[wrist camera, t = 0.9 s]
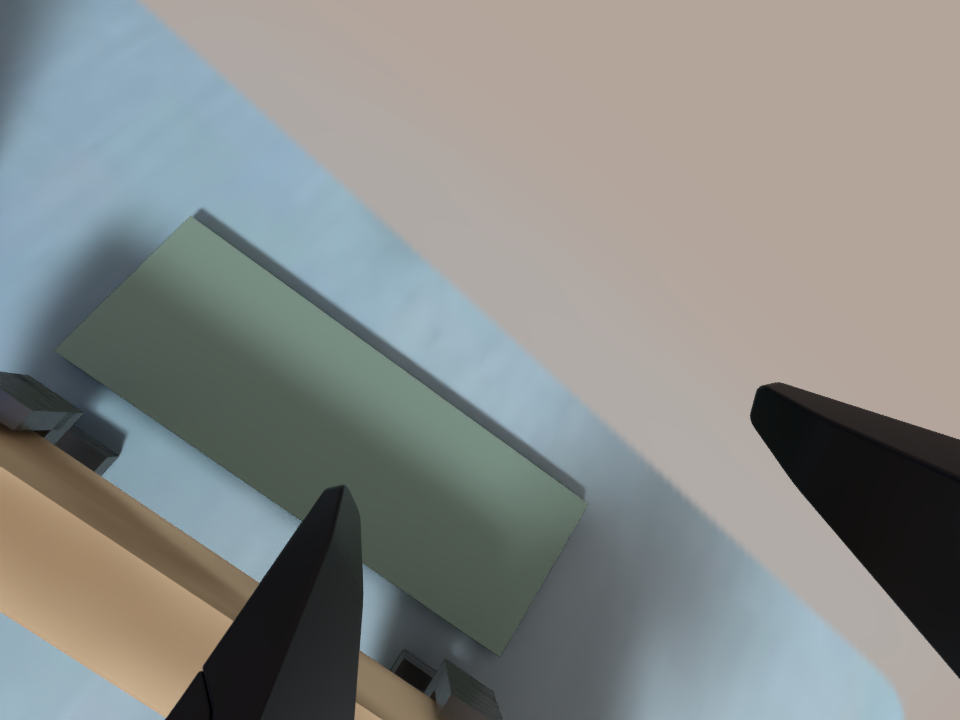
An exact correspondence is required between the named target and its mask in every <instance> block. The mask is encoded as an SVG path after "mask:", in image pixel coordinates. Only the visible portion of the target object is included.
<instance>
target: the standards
mask: <svg viewBox="0 0 960 720" xmlns="http://www.w3.org/2000/svg"><path fill="white" fill-rule="evenodd" d="M83 414H84V413H83V412H82V411H80V410H79V409H77V408H76V407H74V406H73V405H71V404H70V403H68V402H67V401H66V400H64V399H63V398H61V397H60V396H58V395H57V394H55V393H54V392H52V391H51V390H49V389H48V388H46V387H45V386H43V385H42V384H41V383H39V382H38V381H36V380H35V379H33V378H32V377H30V376H28V375H21V374H14V373H7V372H0V422H1V423H2V424H4V425H5V426H7V427H8V428H10V429H11V430H33V431H34V432H36V433H37V434H39V435H40V436H41V437H43V438H44V439H46V440H47V441H49V442H50V443H52V444H53V445H55V446H56V447H58V448H59V449H61V450H62V451H64V452H65V453H67V454H68V455H70V456H71V457H73V458H74V459H76V460H77V461H79V462H80V463H82V464H83V465H85V466H86V467H88V468H89V469H91V470H92V471H94V472H95V473H97V474H98V475H99V476H102V474H103V473H104V472H105V471H106V470H107V469H108V468H109V467H110V466H111V465H112V463H113V462H114V461H115V460H116V459H117V458H118V457H119V456H118V455H116V454H115V453H113V452H112V451H110V450H109V449H107V448H106V447H105V446H103V445H102V444H100V443H99V442H97V441H96V440H94V439H93V438H91V437H90V436H88V435H87V434H85V433H84V432H82V431H81V430H79V429H78V428H76V427H75V426H74V425H73V424H74V423H75V422H76V421H77V420H78V419H79V418H80V417H81V416H82V415H83ZM390 671H391V672H392V673H394V674H395V675H397V676H398V677H400V678H401V679H403V680H404V681H406V682H407V683H409V684H410V685H412V686H413V687H415V688H416V689H418V690H419V691H421V692H422V693H424V694H425V695H427V696H428V697H430V698H431V699H433V700H434V701H435V702H437V710H438V716H439V717H441V718H442V719H444V720H503V719H502V716H501V713H500V711H499V708H498V705H497V702H496V699H495V696H494V693H493V691H491V690H490V689H489V688H487V687H486V686H484V685H483V684H481V683H480V682H478V681H477V680H475V679H474V678H472V677H471V676H469V675H468V674H467V673H465V672H464V671H462V670H461V669H459V668H458V667H456V666H455V665H453V664H452V663H450V662H449V661H447V660H446V659H444V660H443V662H442V664H441V665H440V667H439V669H438V670H437V671H435V670H434V669H432V668H431V667H429V666H428V665H426V664H425V663H423V662H422V661H420V660H419V659H417V658H416V657H414V656H413V655H411V654H410V653H408V652H407V651H406V650H403V651H402V653H401V655H400V656H399V658H398V659H397V661H396V662H395V664H394V666H393V667H392V669H391V670H390Z"/></svg>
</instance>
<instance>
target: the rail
mask: <svg viewBox="0 0 960 720" xmlns="http://www.w3.org/2000/svg"><path fill="white" fill-rule="evenodd" d="M258 585H259V582H257V581H256V580H254V579H253V578H251V577H250V576H248V575H247V574H245V573H244V572H242V571H241V570H239V569H238V568H236V567H235V566H233V565H232V564H230V563H229V562H227V561H226V560H224V559H223V558H221V557H220V556H218V555H217V554H215V553H214V552H212V551H211V550H209V549H208V548H207V547H205V546H204V545H202V544H201V543H199V542H198V541H196V540H195V539H193V538H192V537H190V536H189V535H187V534H186V533H184V532H183V531H181V530H180V529H178V528H177V527H175V526H174V525H172V524H171V523H169V522H168V521H166V520H165V519H163V518H162V517H160V516H159V515H157V514H156V513H154V512H153V511H152V510H150V509H149V508H147V507H146V506H144V505H143V504H141V503H140V502H138V501H137V500H135V499H134V498H132V497H131V496H129V495H128V494H126V493H125V492H123V491H122V490H120V489H119V488H117V487H116V486H114V485H113V484H111V483H110V482H108V481H107V480H105V479H104V478H102V477H101V476H99V475H98V474H97V473H95V472H94V471H92V470H91V469H89V468H88V467H86V466H85V465H83V464H82V463H80V462H79V461H77V460H76V459H74V458H73V457H71V456H70V455H68V454H67V453H65V452H64V451H62V450H61V449H59V448H58V447H56V446H55V445H53V444H52V443H50V442H49V441H47V440H46V439H44V438H43V437H41V436H40V435H39V434H37V433H36V432H34V431H33V430H11V429H10V428H8V427H7V426H5V425H4V424H2V423H1V422H0V612H1V613H3V614H5V615H6V616H8V617H9V618H11V619H12V620H14V621H15V622H17V623H19V624H20V625H22V626H23V627H25V628H26V629H28V630H30V631H31V632H33V633H34V634H36V635H37V636H39V637H40V638H42V639H44V640H45V641H47V642H48V643H50V644H51V645H53V646H54V647H56V648H58V649H59V650H61V651H62V652H64V653H65V654H67V655H69V656H70V657H72V658H73V659H75V660H76V661H78V662H79V663H81V664H83V665H84V666H86V667H87V668H89V669H90V670H92V671H93V672H95V673H97V674H98V675H100V676H101V677H103V678H104V679H106V680H108V681H109V682H111V683H112V684H114V685H115V686H117V687H118V688H120V689H122V690H123V691H125V692H126V693H128V694H129V695H131V696H132V697H134V698H136V699H137V700H139V701H140V702H142V703H143V704H145V705H147V706H148V707H150V708H151V709H153V710H154V711H156V712H157V713H159V714H161V715H162V716H164V717H165V718H166V717H167V716H168V715H169V713H170V712H171V710H172V709H173V708H174V706H175V705H176V703H177V702H178V701H179V699H180V698H181V696H182V695H183V693H184V692H185V691H186V689H187V688H188V686H189V685H190V683H191V682H192V680H193V679H194V677H195V676H196V675H197V673H198V672H199V671H203V669H202V667H203V665H204V663H205V662H206V660H207V659H208V657H209V656H210V655H211V653H212V652H213V650H214V649H215V647H216V646H217V644H218V643H219V642H220V640H221V639H222V637H223V636H224V634H225V633H226V631H227V630H228V628H229V627H230V626H231V624H232V623H233V621H234V620H235V618H236V617H237V615H238V614H239V612H240V611H241V610H242V608H243V607H244V605H245V604H246V602H247V601H248V599H249V598H250V597H251V595H252V594H253V592H254V591H255V589H256V588H257V586H258ZM354 720H444V719H442V718H441V717H439V716H438V710H437V702H435V701H434V700H433V699H431V698H430V697H428V696H427V695H425V694H424V693H422V692H421V691H419V690H418V689H416V688H415V687H413V686H412V685H410V684H409V683H407V682H406V681H404V680H403V679H401V678H400V677H398V676H397V675H395V674H394V673H392V672H391V671H389V670H388V669H386V668H385V667H383V666H382V665H380V664H379V663H378V662H376V661H375V660H373V659H372V658H370V657H369V656H367V655H366V654H364V653H363V652H361V651H360V650H359V664H358V677H357V691H356V705H355V718H354Z"/></svg>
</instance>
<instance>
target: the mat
mask: <svg viewBox="0 0 960 720" xmlns="http://www.w3.org/2000/svg"><path fill="white" fill-rule="evenodd" d="M54 351H55V352H56V353H58V354H59V355H61V356H62V357H64V358H65V359H67V360H68V361H70V362H71V363H72V364H74V365H75V366H77V367H78V368H80V369H81V370H83V371H84V372H86V373H87V374H88V375H90V376H91V377H93V378H94V379H96V380H97V381H99V382H100V383H102V384H103V385H104V386H106V387H107V388H109V389H110V390H112V391H113V392H115V393H116V394H118V395H119V396H120V397H122V398H123V399H125V400H126V401H128V402H129V403H131V404H132V405H134V406H135V407H136V408H138V409H139V410H141V411H142V412H144V413H145V414H147V415H148V416H150V417H151V418H152V419H154V420H155V421H157V422H158V423H160V424H161V425H163V426H164V427H166V428H167V429H168V430H170V431H171V432H173V433H174V434H176V435H177V436H179V437H180V438H182V439H183V440H184V441H186V442H187V443H189V444H190V445H192V446H193V447H195V448H196V449H198V450H199V451H200V452H202V453H203V454H205V455H206V456H208V457H209V458H211V459H212V460H214V461H215V462H216V463H218V464H219V465H221V466H222V467H224V468H225V469H227V470H228V471H230V472H231V473H232V474H234V475H235V476H237V477H238V478H240V479H241V480H243V481H244V482H246V483H247V484H248V485H250V486H251V487H253V488H254V489H256V490H257V491H259V492H260V493H262V494H263V495H264V496H266V497H267V498H269V499H270V500H272V501H273V502H275V503H276V504H278V505H279V506H280V507H282V508H283V509H285V510H286V511H288V512H289V513H291V514H292V515H294V516H295V517H296V518H298V519H299V520H301V521H303V520H304V518H305V517H306V515H307V514H308V512H309V511H310V509H311V508H312V507H313V505H314V504H315V502H316V501H317V499H318V498H319V496H320V495H321V494H322V492H323V491H324V490H325V489H326V488H329V487H333V486H338V485H342V484H344V485H346V486H347V487H348V488H349V490H350V492H351V494H352V497H353V499H354V501H355V503H356V505H357V507H358V510H359V513H360V519H361V543H362V563H363V564H365V565H366V566H368V567H369V568H371V569H372V570H374V571H375V572H376V573H378V574H379V575H381V576H382V577H384V578H385V579H387V580H388V581H390V582H391V583H392V584H394V585H395V586H397V587H398V588H400V589H401V590H403V591H404V592H406V593H407V594H408V595H410V596H411V597H413V598H414V599H416V600H417V601H419V602H420V603H422V604H423V605H424V606H426V607H427V608H429V609H430V610H432V611H433V612H435V613H436V614H438V615H439V616H440V617H442V618H443V619H445V620H446V621H448V622H449V623H451V624H452V625H454V626H455V627H456V628H458V629H459V630H461V631H462V632H464V633H465V634H467V635H468V636H470V637H471V638H472V639H474V640H475V641H477V642H478V643H480V644H481V645H483V646H484V647H486V648H487V649H489V650H490V651H491V652H493V653H494V654H496V655H497V656H499V657H500V656H501V654H502V652H503V650H504V649H505V647H506V645H507V644H508V642H509V640H510V638H511V637H512V635H513V633H514V632H515V630H516V628H517V626H518V625H519V623H520V621H521V620H522V618H523V616H524V614H525V613H526V611H527V609H528V607H529V606H530V604H531V602H532V601H533V599H534V597H535V595H536V594H537V592H538V590H539V589H540V587H541V585H542V583H543V582H544V580H545V578H546V577H547V575H548V573H549V571H550V570H551V568H552V566H553V564H554V563H555V561H556V559H557V558H558V556H559V554H560V552H561V551H562V549H563V547H564V546H565V544H566V542H567V540H568V539H569V537H570V535H571V533H572V532H573V530H574V528H575V527H576V525H577V523H578V521H579V520H580V518H581V516H582V515H583V513H584V511H585V509H586V508H587V506H588V503H587V502H585V501H584V500H582V499H581V498H580V497H578V496H577V495H575V494H574V493H573V492H571V491H570V490H569V489H567V488H566V487H564V486H563V485H562V484H560V483H559V482H558V481H556V480H555V479H553V478H552V477H551V476H549V475H548V474H546V473H545V472H544V471H542V470H541V469H540V468H538V467H537V466H535V465H534V464H533V463H531V462H530V461H529V460H527V459H526V458H524V457H523V456H522V455H520V454H519V453H517V452H516V451H515V450H513V449H512V448H511V447H509V446H508V445H506V444H505V443H504V442H502V441H501V440H500V439H498V438H497V437H495V436H494V435H493V434H491V433H490V432H488V431H487V430H486V429H484V428H483V427H482V426H480V425H479V424H477V423H476V422H475V421H473V420H472V419H471V418H469V417H468V416H466V415H465V414H464V413H462V412H461V411H459V410H458V409H457V408H455V407H454V406H453V405H451V404H450V403H448V402H447V401H446V400H444V399H443V398H442V397H440V396H439V395H437V394H436V393H435V392H433V391H432V390H430V389H429V388H428V387H426V386H425V385H424V384H422V383H421V382H419V381H418V380H417V379H415V378H414V377H413V376H411V375H410V374H408V373H407V372H406V371H404V370H403V369H401V368H400V367H399V366H397V365H396V364H395V363H393V362H392V361H390V360H389V359H388V358H386V357H385V356H384V355H382V354H381V353H379V352H378V351H377V350H375V349H374V348H372V347H371V346H370V345H368V344H367V343H366V342H364V341H363V340H361V339H360V338H359V337H357V336H356V335H355V334H353V333H352V332H350V331H349V330H348V329H346V328H345V327H343V326H342V325H341V324H339V323H338V322H337V321H335V320H334V319H332V318H331V317H330V316H328V315H327V314H326V313H324V312H323V311H321V310H320V309H319V308H317V307H316V306H314V305H313V304H312V303H310V302H309V301H308V300H306V299H305V298H303V297H302V296H301V295H299V294H298V293H297V292H295V291H294V290H292V289H291V288H290V287H288V286H287V285H285V284H284V283H283V282H281V281H280V280H279V279H277V278H276V277H274V276H273V275H272V274H270V273H269V272H268V271H266V270H265V269H263V268H262V267H261V266H259V265H258V264H256V263H255V262H254V261H252V260H251V259H250V258H248V257H247V256H245V255H244V254H243V253H241V252H240V251H239V250H237V249H236V248H234V247H233V246H232V245H230V244H229V243H227V242H226V241H225V240H223V239H222V238H221V237H219V236H218V235H216V234H215V233H214V232H212V231H211V230H210V229H208V228H207V227H205V226H204V225H203V224H201V223H200V222H198V221H197V220H196V219H194V218H193V217H192V216H190V217H189V218H188V219H187V220H186V221H185V222H184V223H183V224H182V225H181V226H180V227H179V228H178V229H177V230H176V231H175V232H174V233H173V234H171V235H170V236H169V237H168V238H167V239H166V240H165V241H164V242H163V243H162V244H161V245H160V246H159V247H158V248H157V249H156V250H155V251H154V252H153V253H152V254H151V255H150V256H149V257H148V258H147V259H146V260H145V261H144V262H143V263H142V264H141V265H140V266H139V267H138V268H137V269H136V270H135V271H134V272H133V273H132V274H131V275H130V276H129V277H128V278H127V279H126V280H125V281H124V282H123V283H122V284H121V285H120V286H119V287H118V288H117V289H116V290H115V291H114V292H113V293H112V294H111V295H110V296H108V297H107V298H106V299H105V300H104V301H103V302H102V303H101V304H100V305H99V306H98V307H97V308H96V309H95V310H94V311H93V312H92V313H91V314H90V315H89V316H88V317H87V318H86V319H85V320H84V321H83V322H82V323H81V324H80V325H79V326H78V327H77V328H76V329H75V330H74V331H73V332H72V333H71V334H70V335H69V336H68V337H67V338H66V339H65V340H64V341H63V342H62V343H61V344H60V345H59V346H58V347H57V348H56V349H55V350H54Z"/></svg>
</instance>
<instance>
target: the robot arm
mask: <svg viewBox="0 0 960 720" xmlns="http://www.w3.org/2000/svg"><path fill="white" fill-rule="evenodd" d="M750 419H751V422H752V424H753V426H754V428H755V429H756V431H757V432H758V434H759V435H760V436H761V438H762V439H763V441H764V442H765V444H766V445H767V446H768V448H769V449H770V451H771V452H772V453H773V455H774V456H775V458H776V459H777V461H778V462H779V464H780V465H781V466H782V468H783V469H784V471H785V472H786V474H787V475H788V476H789V478H790V479H791V480H792V482H793V483H794V484H795V486H796V487H797V488H798V489H799V491H800V492H801V493H802V494H803V495H804V497H805V498H806V499H807V500H808V501H809V502H810V504H811V505H812V506H813V507H814V508H815V510H816V511H817V512H818V513H819V514H820V515H821V517H822V518H823V519H824V520H825V521H826V522H827V524H828V525H829V526H830V527H831V528H832V529H833V530H834V532H835V533H836V534H837V535H838V536H839V538H840V539H841V540H842V541H843V542H844V543H845V545H846V546H847V547H848V548H849V549H850V551H851V552H852V553H853V554H854V555H855V556H856V558H857V559H858V560H859V561H860V562H861V563H862V565H863V566H864V567H865V568H866V569H867V571H868V572H869V573H870V574H871V575H872V576H873V578H874V579H875V580H876V581H877V582H878V583H879V585H880V586H881V587H882V588H883V589H884V591H885V592H886V593H887V594H888V595H889V596H890V598H891V599H892V600H893V601H894V602H895V604H896V605H897V606H898V607H899V608H900V609H901V611H902V612H903V613H904V614H905V615H906V616H907V618H908V619H909V620H910V621H911V622H912V623H913V625H914V626H915V627H916V628H917V629H918V631H919V632H920V633H921V634H922V635H923V636H924V638H925V639H926V640H927V641H928V642H929V643H930V645H931V646H932V647H933V648H934V649H935V650H936V652H937V653H938V654H939V655H940V656H941V657H942V659H943V660H944V661H945V662H946V663H947V665H948V666H949V667H950V668H951V669H952V670H953V671H954V673H955V674H956V675H957V676H958V677H959V679H960V440H959V439H956V438H953V437H950V436H946V435H944V434H940V433H937V432H934V431H931V430H928V429H925V428H922V427H918V426H915V425H912V424H909V423H906V422H903V421H900V420H897V419H893V418H890V417H887V416H884V415H880V414H878V413H875V412H871V411H868V410H865V409H862V408H859V407H856V406H852V405H849V404H846V403H843V402H840V401H837V400H834V399H831V398H828V397H824V396H821V395H818V394H815V393H812V392H809V391H806V390H803V389H799V388H796V387H793V386H790V385H787V384H784V383H779V382H777V383H771V384H767V385H763V386H760V387H759V388H758V389H757V391H756V394H755V398H754V402H753V406H752V409H751V413H750ZM362 609H363V568H362V543H361V519H360V513H359V510H358V507H357V505H356V503H355V501H354V499H353V497H352V494H351V492H350V490H349V488H348V487H347V486H346V485H344V484H342V485H338V486H333V487H329V488H326V489H325V490H324V491H323V492H322V494H321V495H320V496H319V498H318V499H317V501H316V502H315V504H314V505H313V507H312V508H311V509H310V511H309V512H308V514H307V515H306V517H305V518H304V520H303V521H302V523H301V524H300V525H299V527H298V528H297V530H296V531H295V533H294V534H293V536H292V537H291V538H290V540H289V541H288V543H287V544H286V546H285V547H284V549H283V550H282V552H281V553H280V554H279V556H278V557H277V559H276V560H275V562H274V563H273V565H272V566H271V568H270V569H269V570H268V572H267V573H266V575H265V576H264V578H263V579H262V581H261V582H260V583H259V585H258V586H257V588H256V589H255V591H254V592H253V594H252V595H251V597H250V598H249V599H248V601H247V602H246V604H245V605H244V607H243V608H242V610H241V611H240V612H239V614H238V615H237V617H236V618H235V620H234V621H233V623H232V624H231V626H230V627H229V628H228V630H227V631H226V633H225V634H224V636H223V637H222V639H221V640H220V642H219V643H218V644H217V646H216V647H215V649H214V650H213V652H212V653H211V655H210V656H209V657H208V659H207V660H206V662H205V663H204V665H203V667H202V669H203V671H199V672H198V673H197V675H196V676H195V677H194V679H193V680H192V682H191V683H190V685H189V686H188V688H187V689H186V691H185V692H184V693H183V695H182V696H181V698H180V699H179V701H178V702H177V703H176V705H175V706H174V708H173V709H172V710H171V712H170V713H169V715H168V716H167V717H166V719H165V720H354V718H355V705H356V691H357V677H358V664H359V650H360V636H361V623H362Z"/></svg>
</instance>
